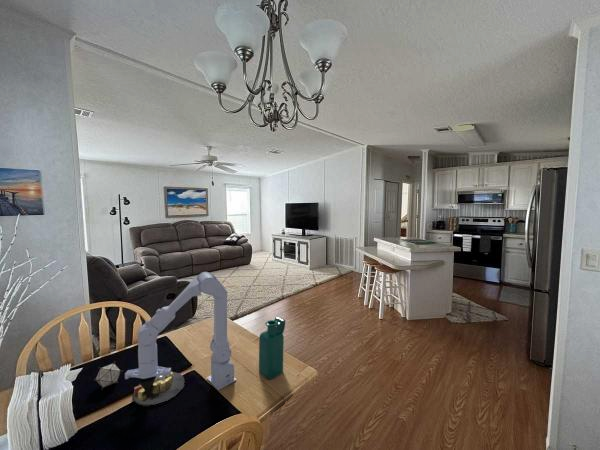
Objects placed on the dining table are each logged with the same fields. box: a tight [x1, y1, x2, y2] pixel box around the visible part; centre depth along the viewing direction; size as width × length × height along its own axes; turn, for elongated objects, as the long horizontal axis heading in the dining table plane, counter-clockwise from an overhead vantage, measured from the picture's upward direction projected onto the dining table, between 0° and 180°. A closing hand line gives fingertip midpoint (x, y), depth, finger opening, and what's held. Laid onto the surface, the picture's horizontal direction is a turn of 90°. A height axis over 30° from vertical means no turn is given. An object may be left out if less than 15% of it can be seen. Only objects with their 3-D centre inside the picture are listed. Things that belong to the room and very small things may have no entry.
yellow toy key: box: [138, 371, 174, 401], centre depth 96 cm, size 12×9×4 cm
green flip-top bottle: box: [258, 316, 286, 380], centre depth 109 cm, size 10×8×22 cm
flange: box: [132, 371, 185, 407], centre depth 98 cm, size 17×17×5 cm
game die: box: [93, 360, 124, 391], centre depth 99 cm, size 9×8×10 cm
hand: (149, 395), depth 91 cm, fingers closed, pressing on yellow toy key
